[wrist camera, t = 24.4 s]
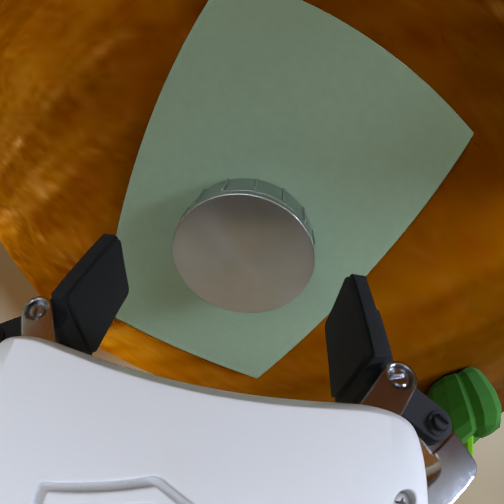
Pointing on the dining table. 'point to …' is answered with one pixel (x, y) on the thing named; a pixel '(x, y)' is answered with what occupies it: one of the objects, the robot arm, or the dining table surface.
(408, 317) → the dining table surface
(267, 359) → the mat
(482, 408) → the bell pepper
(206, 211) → the lid
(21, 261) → the dining table surface
